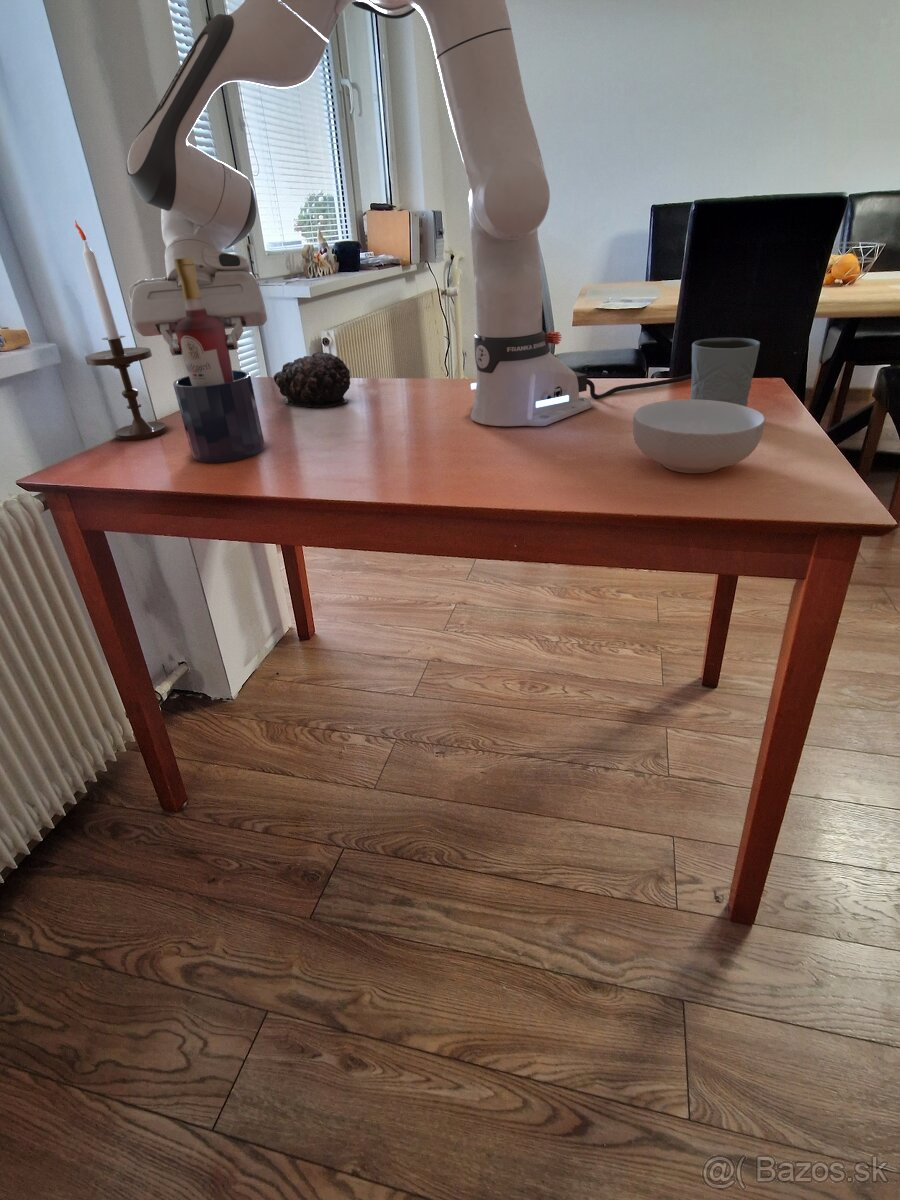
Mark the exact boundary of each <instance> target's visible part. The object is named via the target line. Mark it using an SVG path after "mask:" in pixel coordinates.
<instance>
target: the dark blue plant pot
mask: <svg viewBox="0 0 900 1200" xmlns="http://www.w3.org/2000/svg"><path fill="white" fill-rule="evenodd" d="M232 372H233V378H234V381H231V382H227V383H221V384H215V385H207V386H192V384H191V381H190V378H189V375H186V376H183V377H180V378H177V379H176V380H174V381H173V383H172V385H173V389H174V393H175V396H176V400H177V401H176V402H177V404H178V408H179V411H180V412H179V413H180V415H181V419H182V423H183V427H184V430H185V434H186V438H187V442H188V445H189V450H190V453H191V455H192V458H193V459H194V461H196V462H199V463H205V464H206V463H207V464H220V463H221V464H223V463H229V462H236V461H240V460H241V461H242V460H245V459H249V458H251V457H253V456H256V455H258V454H260V453H262V452H263V451H264V450H265V447H266V444H265V439H264V435H263V430H262V425H261V419H260V415H259V411H258V405H257V399H256V396H255V390H254V386H253V381H252V376H251V372H250V371H246V370H241V369H232Z"/></svg>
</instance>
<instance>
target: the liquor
mask: <svg viewBox="0 0 900 1200" xmlns="http://www.w3.org/2000/svg"><path fill="white" fill-rule="evenodd" d="M174 262H175V266H176V270H177V273H178V276H179V278H180V280H181V284H182V290H183V297H184V303H185V310H186V316H187V317H185V318H184V319H182V320H181V321H179V322H178V324H177V325H176V327H175V328H174V329H175V332H176V334H175V335H176V339H178V342H179V345H180V349H181V352H182V355H181V356H182V359H183V361H184V365H185V368H186V371H187V376H189V378H190V381H191V384H192V386H207V385H215V384H221V383H227V382H231V381H234V378H233V372H232V370H233V366H232V361H231V353H230V350H229V349H228V346H227V342H226V341H227V340H226V335H227V333H226V329H225V326H224V322H222V321H221V320H219V319H218V318H216V317H213V316H211V315H208V314H207V312H206V309H205V306H204V303H203V300H202V296H201V293H200V290H199V287H198V284H197V280H196V269H195V265H194V261H193V258H180V259H174Z"/></svg>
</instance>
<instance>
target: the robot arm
mask: <svg viewBox="0 0 900 1200" xmlns="http://www.w3.org/2000/svg"><path fill="white" fill-rule="evenodd" d="M350 4H352V5H353V6H354V7H355V8H358V9H361V10H364V11H366V12H370V13H372V14H374V15H377V16H379V17H381V18H384V19H392V20H397V19H398V20H400V19H404V18H406V17H408V16H410V15H412V14H413V13H414V12H415V11H418V12H419V13H420V15H421V16H422V18H423V19H424V21H425V24H426V26H427V29H428V33H429V35H430V36H429V37H430V39H431V44H432V48H433V51H434V52H433V53H434V57H435V60H436V65H437V69H438V73H439V77H440V81H441V84H442V85H441V86H442V90H443V94H444V98H445V102H446V106H447V110H448V111H447V112H448V115H449V119H450V123H451V126H452V130H453V133H454V136H455V139H456V142H457V146H458V149H459V153H460V156H461V160H462V163H463V167H464V170H465V174H466V178H467V181H468V185H469V194H468V211H469V228H470V242H471V243H470V244H471V256H472V267H473V277H474V298H475V299H474V300H475V321H476V322H475V323H476V333H475V334H474V359H475V365H476V379H475V380H476V381H475V382H473V383H470V389H471V390H475V393H474V399H473V404H472V411H471V414H470V419H471V420H472V421H473V422H475V423H478V424H481V425H485V426H486V425H487V426H495V427H521V426H522V427H523V426H524V427H525V426H526V427H546V426H549V425H551V424H554V423H556V422H559V421H561V420H563V419H566V418H569V417H572V416H574V415H576V414H580V413H581V412H584V411H586V410H589V409H591V408H592V401H591V400H589V398H586V397H584V396H581V395H580V393H583V392H587V391H588V389H587V387H588V386H589V392H590V393H589V395H590V397H591V398H592V399H594V400H598V399H602V398H605V397H609V396H611V395H613V394H615V393H617V392H622V391H628V390H629V391H630V390H636V389H645V388H650V387H658V386H664V385H665V386H666V385H671V384H674V383H675V384H676V383H680V382H683V381H687V380H692V373H690V374H686V375H682V376H678V377H672V378H668V379H662V380H654V381H647V382H641V383H640V382H639V383H631V384H625V385H619V386H616V387H613V388H611V389H609V390H607V391H605V392H604V393H602V394H597V393H596V386H595V384H594V383H595V382H593V381H592V380H591V379H589V378H588V374H586V373H581V372H578V371H574V370H572V368H570V367H569V366H568V365H566V364H565V363H564V362H563V361H561V360H560V359H559V358H557V356H555V355H554V354H553V353H551V348H550V345H549V344H552V345H559V344H560V343H561V341H562V334H561V332H559V331H552V330H550V331H548V332H547V333H546V332H545V331H544V330H543V274H542V267H541V259H540V249H539V234H538V233H539V232H538V229H539V228H540V227H541V225H542V224H543V222H544V220H545V219H546V216H547V214H548V211H549V206H550V201H551V192H550V191H551V190H550V184H549V181H548V178H547V174H546V170H545V165H544V161H543V158H542V154H541V150H540V145H539V142H538V137H537V134H536V132H535V127H534V125H533V121H532V117H531V114H530V111H529V108H528V104H527V100H526V95H525V91H524V86H523V81H522V76H521V71H520V66H519V60H518V56H517V50H516V45H515V40H514V35H513V31H512V30H513V29H512V24H511V21H510V20H511V19H510V15H509V10H508V7H507V3H506V0H244V1H243V2H242V4H240V5H239V7H238V8H236V10H234V11H233V12H232V13H229V14H223V13H218V14H215V15H214V16H213V17H212V18H211V19H210V20H209V21H208V22H207V24H206V25H205V26H204V27H203V29H202V30H201V32H200V33H199V35H198V36H197V38H196V40H195V41H194V42H193V44H192V46H191V48H190V49H189V51H188V52H187V54H186V56H185V57H184V60H183V61H182V63H181V64H180V67H179V68H178V70H177V72H176V74H175V76H174V77H173V79H172V81H171V82H170V84H169V86H168V88H167V89H166V91H165V93H164V95H163V96H162V98H161V100H160V102H159V104H157V107H156V109H155V110H154V112H153V113H152V115H151V116H150V117H149V119H148V120H147V122H146V123H145V124H144V126H143V127H142V128H141V129H140V131H138V134H137V135H136V137H135V138H134V140H133V142H132V144H131V146H130V148H129V152H128V155H127V159H126V173H127V175H128V179H129V180H130V182H131V185H132V187H133V189H134V190H135V191H136V193H137V195H138V196H139V198H140V199H141V200H142V201H143V203H146V204H148V205H151V206H154V207H156V208H158V209H161V210H160V211H161V212H160V221H161V222H160V223H161V225H160V226H161V236H162V237H161V238H162V241H163V244H164V245H165V250H164V265H165V274H166V276H165V277H156V278H152V279H147V278H144V279H139V280H137V282H134V283H133V284H132V285H130V286H129V288H128V298H129V302H130V320H131V323H132V325H133V327H134V329H135V331H136V332H137V333H138V334H140V336H142V337H153V336H162V338H163V339H164V340H165V342H166V343H167V344H168V347H169V352H170V353H171V356H173V357H175V356H183V355H182V352H181V349H180V345H179V342H178V338H174V335H176V332H175V329H174V328H175V327H176V325H177V324H178V322H179V321H181V320H182V319H184V318H185V317H187V316H186V310H185V303H184V297H183V290H182V284H181V280H180V278H179V276H178V273H177V270H176V266H175V262H174V259H180V258H193V261H194V265H195V269H196V280H197V284H198V287H199V290H200V293H201V296H202V300H203V303H204V306H205V309H206V312H207V314H208V315H211V316H213V317H216V318H218V319H219V320H221V321H222V322H224V326H225V330H229V329H232V331H231V333H228V334H227V333H226V340H227V341H226V342H227V346H228V349H229V351H235V350H239V342H238V341H239V340H240V339H241V337H242V335H243V333H244V328H251V327H252V328H253V327H261V326H264V325H265V324H266V323H267V322H268V315H267V311H266V306H265V301H264V297H263V294H262V292H261V288H260V285H259V283H258V281H257V279H256V276H254V275H253V271H252V268H251V265H250V262H249V260H248V259H247V257H245V256H244V255H239V254H234V253H229V252H224V251H223V250H228V249H230V248H232V247H233V246H235V245H236V244H238V243H239V242H241V241H242V240H243V239H245V238H247V236H248V235H249V234H250V232H251V230H252V229H253V228H254V226H255V223H256V219H257V199H256V194H255V193H256V192H255V189H254V187H253V184H252V182H251V180H250V178H249V177H248V176H246V175H244V174H243V173H241V172H240V171H238V170H236V169H235V168H233V167H232V166H230V165H228V164H226V163H225V162H223V161H221V160H219V159H216V158H215V157H213V156H212V155H209V154H208V153H207V152H205V151H203V150H201V149H199V148H198V147H196V146H195V145H193V144H191V143H189V141H188V137H189V136H190V134H191V132H192V130H193V129H194V127H195V125H196V123H197V122H198V121H199V118H200V117H201V115H202V114H203V112H204V111H205V109H206V108H207V105H208V103H209V102H210V100H211V98H212V96H213V95H214V93H215V92H216V91H217V90H218V89H219V88H220V87H222V86H223V85H226V84H227V83H233V82H246V83H251V84H256V85H260V86H264V87H268V88H273V89H274V88H275V89H290V88H294V87H297V86H300V85H302V84H304V83H306V82H307V81H308V80H310V79H311V78H312V76H313V75H314V74H315V72H316V70H317V68H318V67H319V65H320V63H321V60H322V59H323V57H324V54H325V51H326V49H327V47H328V45H329V42H330V39H331V38H332V36H333V33H334V30H335V29H336V25H337V23H338V22H339V19H340V17H341V16H342V14H343V12H344V10H345V9H346V8H347V7H349V5H350ZM173 338H174V339H173Z"/></svg>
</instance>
